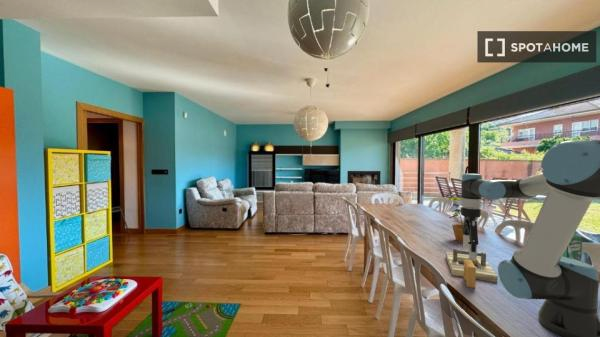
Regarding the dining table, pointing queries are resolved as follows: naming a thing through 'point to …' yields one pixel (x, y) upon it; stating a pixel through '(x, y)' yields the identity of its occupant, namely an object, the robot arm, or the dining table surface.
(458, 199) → the potted plant
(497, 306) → the dining table surface
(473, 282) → the orange u-shaped bracket
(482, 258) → the gray u-shaped bracket
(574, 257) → the milk carton
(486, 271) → the beige open frame
